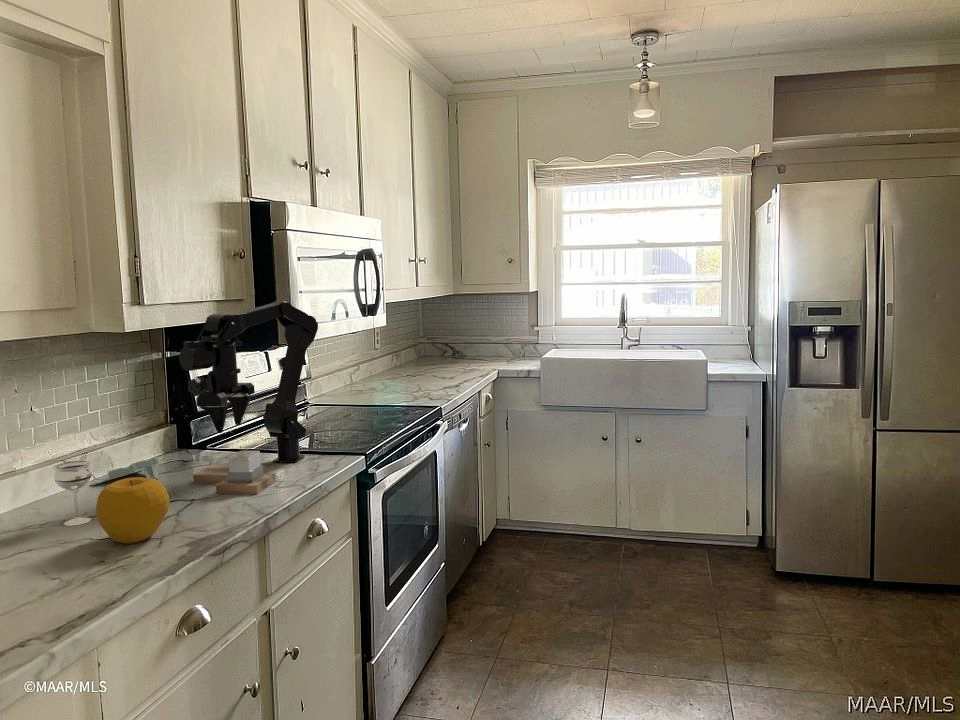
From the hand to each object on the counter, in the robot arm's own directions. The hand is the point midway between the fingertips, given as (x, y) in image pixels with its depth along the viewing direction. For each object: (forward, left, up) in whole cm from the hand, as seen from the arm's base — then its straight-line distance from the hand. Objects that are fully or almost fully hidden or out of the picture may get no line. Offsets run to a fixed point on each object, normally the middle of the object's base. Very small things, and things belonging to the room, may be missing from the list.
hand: (229, 428), depth 184 cm
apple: (+42, +2, -12) cm, 44 cm away
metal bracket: (+3, -25, -13) cm, 28 cm away
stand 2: (+9, +8, -12) cm, 17 cm away
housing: (+9, +8, -10) cm, 16 cm away
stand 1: (+1, -2, -12) cm, 12 cm away
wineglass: (+34, -17, -12) cm, 40 cm away
